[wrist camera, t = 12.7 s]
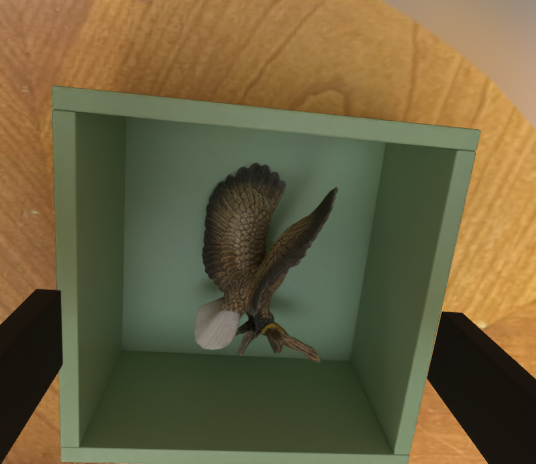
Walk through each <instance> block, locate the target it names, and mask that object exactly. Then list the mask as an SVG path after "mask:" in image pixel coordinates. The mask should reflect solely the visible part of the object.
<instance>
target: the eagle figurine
mask: <svg viewBox="0 0 536 464" xmlns="http://www.w3.org/2000/svg"><path fill="white" fill-rule="evenodd" d="M285 187H286V183H285V181H283V180H280V177H279V174H278V173H277V172H271V169H270V167H269V166H268V165H266V164H264V165H263V166H261V165H260V164H259V163H253V164H252V165H251V166H250V167H249V168H246V167H241V168H240V169H239V170H238V171H237V173H236V176H235V177H233V176H232V175H228V176H227V178H226V180H225V182H220V183H219V184H218V186H217V187H216V188H215V190H214V192H213V195H211V196H210V198H209V204H208V205H207V207H206V212H207V215H206V217H205V223H204V224H205V228H206V230H205V231H204V239H203V242H204V247H203V248H202V251H203V252H202V258H203V264H204V266H205V273H207V274H208V277H209V279H212V280H213V281H214V283H215V285H218V286H219V290H220V291H221V292H224V296H223V297H222V298H219V299H217V300H214V301H211V302H209V303H206V304H204V305H201V306H200V307H199V309H198V310H197V313H196V316H195V327H194V335H195V340H196V343H197V344H198V345H200V346H201V347H202V348H204V349H210V350H215V349H222V348H224V347H225V346H228V345H229V344H230V343H231V342H232V341H233V339H234V338H235V336H237V335H239V334H243V338H242V341H241V343H240V345H239V348H238V350H237V354H238V356H239V357H241V356H242V355H243V353H244V351H245V349H246V348H247V346H248V345H249V344H250V342H251V341H252V340H254V339H255V338H257V337H258V336H259V334H261V335H264V336H266V337H267V339H268V341H269V344H270V346H271V348H272V350H273V352H274V353H276V354H279V353H281V351H282V349H283V345H284V346H287V347H289V348H292V349H294V350H297V351H299V352H301V353H303V354H305V355H306V356H307V357H308V358H309V359H311V360H313V361H315V362H318V363H319V362H320V361H321V358H320V356H319V355H318V353H317V352H316V351H315V350H314V349H313V348H312V347H311V346H309V345H306V344H304V343H302V342H301V341H299V340H298V339H296V338H294V337H291V336H289V334H288V333H287V332H286V330H285V329H284V328H282V327H281V326H280V325H279V324H278V323H276V322H274V316H273V315H272V313H271V312H270V310H269V309H270V300H271V297H272V295H273V293H274V292H275V291H276V290H277V289H278V288H279V287H280V285H281V284H282V283H283V281H284V279H285V276H286V275H287V273H288V272H289V270H290V269H291V267H295V266H297V265H298V264H299V263H300V262H301V259H302V258H304V257H305V256H306V250H307V249H309V248H310V247H311V245H312V242H313V241H314V240H315V239H316V237H317V236H318V234H319V232H320V231H321V229H322V228H323V225H324V224H325V223H326V221H327V220H328V218H329V216H330V213H331V210H332V208H333V203H334V201H335V199H336V193H337V192H338V187H335V188H334V189H332V190H331V191H330V192H329V193H328V194H327V195H326V196H325V198H324V199H323V201H322V202H321V203H320V204H319V206H318V207H317V208H316V209H315V210H314V211H313V212H312V213H311V214H310V215H309V216H306V217H304V218H302V219H301V220H299V221H298V222H296V223H294V224H292V225H291V226H290V227H288V228H287V229H286V230H285V231H284V232H283V233H282V235H281V236H280V237H279V238H278V239H277V241H276V242H275V243H274V245H273V246H272V247H271V249H270V250H269V251H268V253H267V252H266V238H267V234H268V230H269V226H270V222H271V218H272V215H273V212H274V211H275V209H276V207H277V205H278V204H279V202H280V199H281V197H282V195H283V193H284V190H285ZM245 312H246V314H247V316H248V321H246V322H245V323H244V324H243V325H242V326H240V327H239V328H238V326H239V323H240V318H241V316H242V315H243V314H244V313H245Z"/></svg>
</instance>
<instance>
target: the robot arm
mask: <svg viewBox="0 0 536 464" xmlns="http://www.w3.org/2000/svg"><path fill="white" fill-rule="evenodd" d="M62 365H63V347H62V308H61V290H44V289H36V290H35V291H34V292H33V293H32V294H31V295H30V296H29V297H28V298H27V299H26V300H25V301H24V302H23V303H22V304H21V305H20V306H19V307H18V308H17V309H16V310H15V311H14V312H13V313H12V314H11V315H10V316H9V317H8V318H7V319H6V320H5V321H4V322H3V323H2V324H1V325H0V464H2V462H3V460H4V459H5V457H6V456H7V454H8V452H9V451H10V449H11V447H12V446H13V444H14V443H15V441H16V439H17V438H18V436H19V435H20V433H21V431H22V430H23V428H24V427H25V425H26V423H27V422H28V420H29V418H30V417H31V415H32V414H33V412H34V410H35V409H36V407H37V406H38V404H39V402H40V401H41V399H42V398H43V396H44V394H45V393H46V391H47V389H48V388H49V386H50V385H51V383H52V381H53V380H54V378H55V377H56V375H57V373H58V372H59V370H60V369H61V367H62ZM427 379H428V381H429V382H430V383H431V385H432V386H433V388H434V389H435V390H436V392H437V393H438V394H439V396H440V397H441V399H442V400H443V401H444V403H445V404H446V406H447V407H448V408H449V410H450V411H451V413H452V414H453V415H454V417H455V418H456V419H457V421H458V422H459V424H460V425H461V426H462V428H463V429H464V431H465V432H466V433H467V435H468V436H469V438H470V439H471V440H472V442H473V443H474V444H475V446H476V447H477V449H478V450H479V451H480V453H481V454H482V456H483V457H484V458H485V460H486V461H487V463H488V464H536V379H535V378H534V377H533V376H532V375H531V374H529V373H528V372H527V371H526V370H525V369H524V368H523V367H522V366H521V365H519V364H518V363H517V362H516V361H515V360H514V359H513V358H512V357H511V356H509V355H508V354H507V353H506V352H505V351H504V350H503V349H502V348H501V347H499V346H498V345H497V344H496V343H495V342H494V341H493V340H492V339H491V338H490V337H488V336H487V335H486V334H485V333H484V332H483V331H482V330H481V329H480V328H478V327H477V326H476V325H475V324H474V323H473V322H472V321H471V320H470V319H468V318H467V317H466V316H465V315H464V314H463V313H458V312H442V314H441V318H440V323H439V327H438V331H437V336H436V340H435V345H434V349H433V354H432V358H431V363H430V367H429V371H428V376H427Z"/></svg>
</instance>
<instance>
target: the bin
mask: <svg viewBox="0 0 536 464" xmlns="http://www.w3.org/2000/svg"><path fill="white" fill-rule="evenodd" d="M52 108H53V109H54V110H52V128H53V168H54V207H55V246H56V286H57V290H61V308H62V347H63V365H62V367H61V369H60V370H59V404H60V443H61V462H81V463H130V464H408V461H409V454H410V450H411V446H412V441H413V437H414V432H415V428H416V423H417V418H418V414H419V409H420V405H421V400H422V396H423V391H424V387H425V382H426V378H427V373H428V368H429V364H430V359H431V355H432V350H433V346H434V341H435V337H436V332H437V327H438V323H439V318H440V314H441V309H442V305H443V300H444V296H445V291H446V287H447V282H448V277H449V273H450V268H451V264H452V259H453V255H454V250H455V246H456V241H457V237H458V232H459V227H460V223H461V218H462V214H463V209H464V205H465V200H466V196H467V191H468V187H469V182H470V177H471V173H472V168H473V164H474V159H475V155H476V152H475V150H477V146H478V142H479V137H480V132H481V131H480V130H477V129H468V128H458V127H449V126H439V125H429V124H420V123H410V122H401V121H391V120H382V119H372V118H362V117H353V116H343V115H334V114H324V113H314V112H305V111H295V110H286V109H276V108H266V107H257V106H247V105H238V104H228V103H218V102H209V101H199V100H190V99H180V98H171V97H161V96H151V95H142V94H132V93H123V92H113V91H103V90H94V89H84V88H75V87H65V86H55V85H54V86H52ZM253 163H259V164H260V165H261V166H263V165H264V164H266V165H268V166H269V167H270V169H271V172H277V173H278V174H279V177H280V180H283V181H285V183H286V187H285V190H284V193H283V195H282V197H281V199H280V202H279V204H278V205H277V207H276V209H275V211H274V212H273V215H272V218H271V222H270V226H269V230H268V234H267V238H266V252H267V253H268V251H269V250H270V249H271V247H272V246H273V245H274V243H275V242H276V241H277V239H278V238H279V237H280V236H281V235H282V233H283V232H284V231H285V230H286V229H287V228H288V227H290V226H291V225H292V224H294V223H296V222H298V221H299V220H301V219H302V218H304V217H306V216H309V215H310V214H311V213H312V212H313V211H314V210H315V209H316V208H317V207H318V206H319V204H320V203H321V202H322V201H323V199H324V198H325V196H326V195H327V194H328V193H329V192H330V191H331V190H332V189H334V188H335V187H338V192H337V193H336V199H335V201H334V203H333V208H332V210H331V213H330V216H329V218H328V220H327V221H326V223H325V224H324V225H323V228H322V229H321V231H320V232H319V234H318V236H317V237H316V239H315V240H314V241H313V242H312V245H311V247H310V248H309V249H307V250H306V256H305V257H304V258H302V259H301V262H300V263H299V264H298V265H297V266H295V267H291V269H290V270H289V272H288V273H287V275H286V276H285V279H284V281H283V283H282V284H281V285H280V287H279V288H278V289H277V290H276V291H275V292H274V293H273V295H272V297H271V300H270V309H269V310H270V312H271V313H272V315H273V316H274V322H276V323H278V324H279V325H280V326H281V327H282V328H284V329H285V330H286V332H287V333H288V334H289V336H291V337H294V338H296V339H298V340H299V341H301V342H302V343H304V344H306V345H309V346H311V347H312V348H313V349H314V350H315V351H316V352H317V353H318V355H319V356H320V358H321V361H320V362H319V363H318V362H315V361H313V360H311V359H309V358H308V357H307V356H306V355H305V354H303V353H301V352H299V351H297V350H294V349H292V348H289V347H287V346H284V345H283V349H282V351H281V353H279V354H276V353H274V352H273V350H272V348H271V346H270V344H269V341H268V339H267V337H266V336H264V335H261V334H259V336H258V337H257V338H255V339H254V340H252V341H251V342H250V344H249V345H248V346H247V348H246V349H245V351H244V353H243V355H242V356H241V357H239V356H238V354H237V350H238V348H239V345H240V343H241V341H242V338H243V334H239V335H237V336H235V338H234V339H233V341H232V342H231V343H230V344H229V345H228V346H225V347H224V348H222V349H215V350H210V349H204V348H202V347H201V346H200V345H198V344H197V343H196V340H195V335H194V327H195V316H196V313H197V310H198V309H199V307H200V306H201V305H204V304H206V303H209V302H211V301H214V300H217V299H219V298H222V297H223V296H224V292H221V291H220V290H219V286H218V285H215V283H214V281H213V280H212V279H209V277H208V274H207V273H205V266H204V264H203V258H202V252H203V251H202V248H203V247H204V242H203V239H204V231H205V230H206V228H205V224H204V223H205V217H206V215H207V212H206V207H207V205H208V204H209V198H210V196H211V195H213V192H214V190H215V188H216V187H217V186H218V184H219V183H220V182H225V180H226V178H227V176H228V175H232V176H233V177H235V176H236V173H237V171H238V170H239V169H240V168H241V167H246V168H249V167H250V166H251V165H252V164H253ZM246 321H248V316H247V314H246V312H245V313H244V314H243V315H242V316H241V318H240V323H239V326H238V328H239V327H240V326H242V325H243V324H244V323H245V322H246Z"/></svg>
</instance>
